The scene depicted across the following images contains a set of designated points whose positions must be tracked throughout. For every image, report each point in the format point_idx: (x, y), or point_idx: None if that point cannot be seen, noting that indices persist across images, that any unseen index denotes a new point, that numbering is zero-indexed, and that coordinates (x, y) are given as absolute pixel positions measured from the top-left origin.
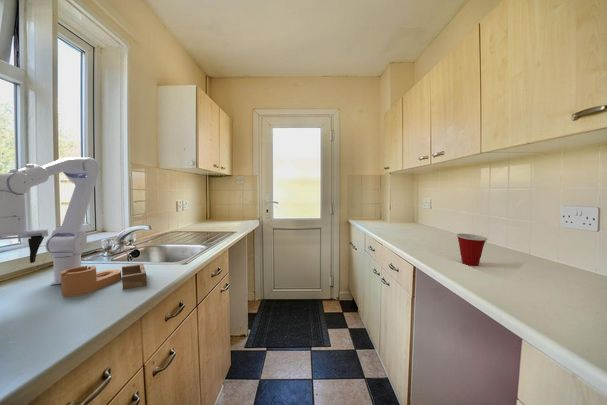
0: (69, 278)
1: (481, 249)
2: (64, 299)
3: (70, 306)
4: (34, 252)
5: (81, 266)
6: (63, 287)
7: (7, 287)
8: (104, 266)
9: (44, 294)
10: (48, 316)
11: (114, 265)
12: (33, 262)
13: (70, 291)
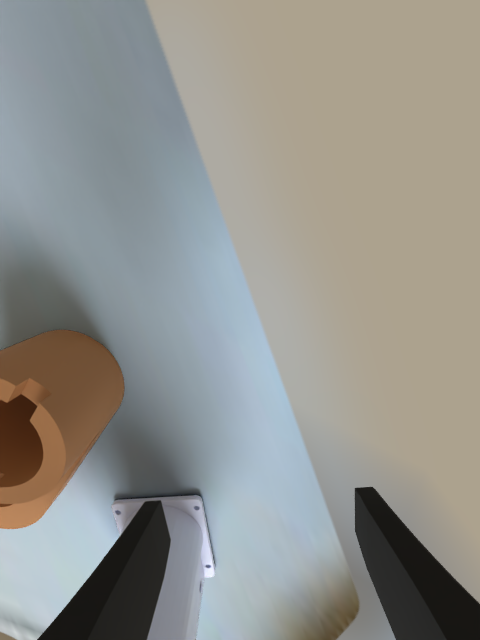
0: (18, 363)
1: None
2: (86, 304)
3: (25, 200)
4: (76, 597)
5: (10, 503)
6: (85, 363)
7: (332, 537)
8: None
9: (183, 401)
10: (59, 112)
11: None
12: (143, 504)
13: (65, 338)
